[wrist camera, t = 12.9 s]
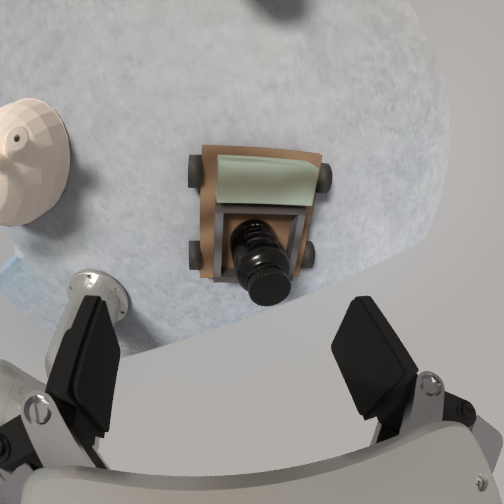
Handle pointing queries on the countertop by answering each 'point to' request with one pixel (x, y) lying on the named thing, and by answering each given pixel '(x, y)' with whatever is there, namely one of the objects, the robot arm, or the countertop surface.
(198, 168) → the toy truck
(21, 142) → the kettle
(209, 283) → the countertop surface
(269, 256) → the supplement bottle
